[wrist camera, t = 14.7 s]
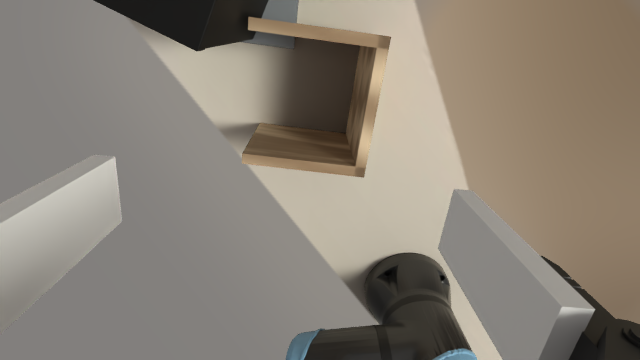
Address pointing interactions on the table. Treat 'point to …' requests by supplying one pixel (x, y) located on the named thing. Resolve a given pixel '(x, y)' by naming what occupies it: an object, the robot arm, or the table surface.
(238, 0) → the black tall block
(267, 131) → the holder
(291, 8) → the pad
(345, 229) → the table surface
